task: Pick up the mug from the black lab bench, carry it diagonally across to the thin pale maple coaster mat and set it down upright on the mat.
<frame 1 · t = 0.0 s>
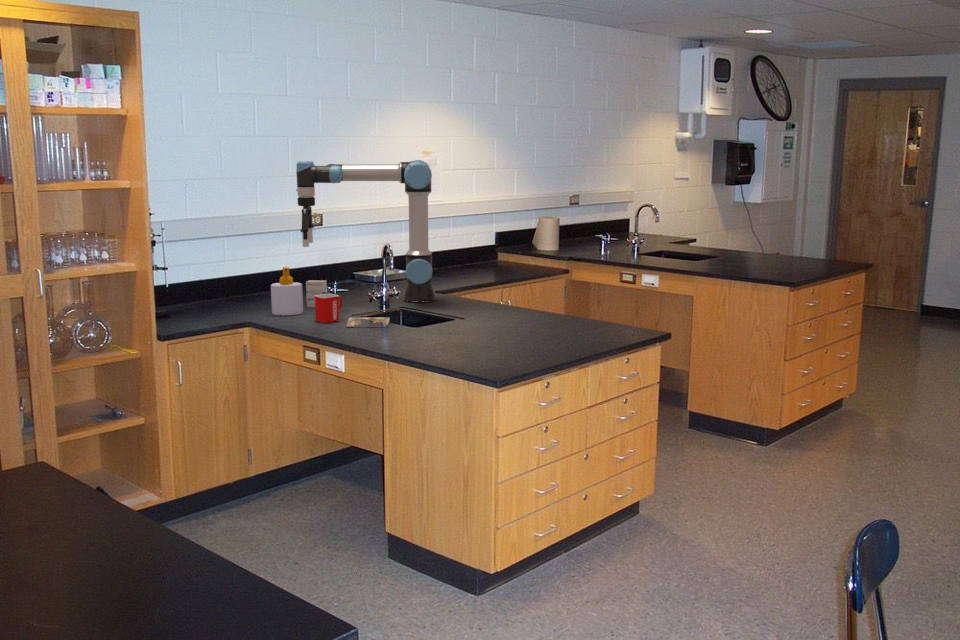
hand: (307, 244, 415), 28 cm above the countertop, fingers open, 13 cm apart
mug: (331, 320, 393), on the countertop
coaster board: (368, 323, 387), on the countertop
soap bottle: (287, 314, 406), on the countertop
ink box: (317, 306, 422), on the countertop
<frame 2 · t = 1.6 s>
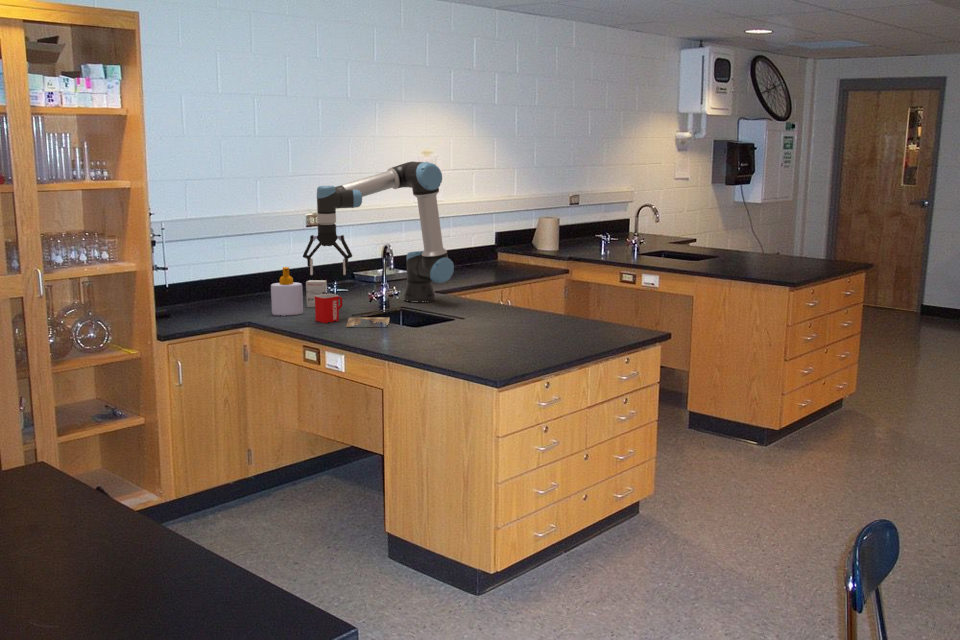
hand: (328, 274, 390), 19 cm above the countertop, fingers open, 13 cm apart
nothing on the countertop moved.
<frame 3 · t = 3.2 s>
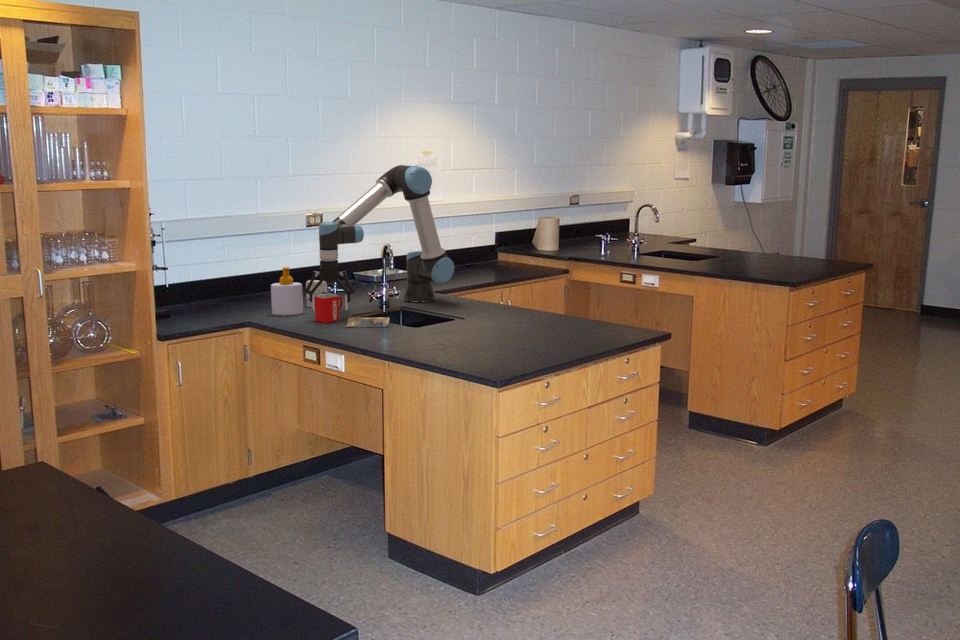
hand: (330, 309, 392), 4 cm above the countertop, fingers open, 13 cm apart
nothing on the countertop moved.
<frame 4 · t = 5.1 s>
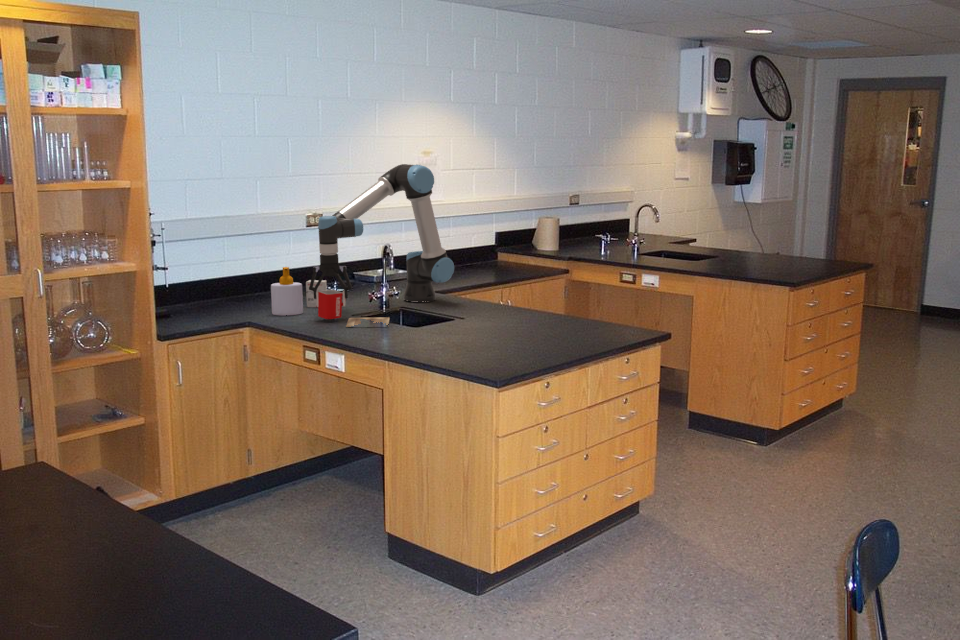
hand: (331, 306, 392), 6 cm above the countertop, fingers closed on mug, 10 cm apart
mug: (333, 316, 393), point 1 cm above the countertop, touching gripper
everything else where it was.
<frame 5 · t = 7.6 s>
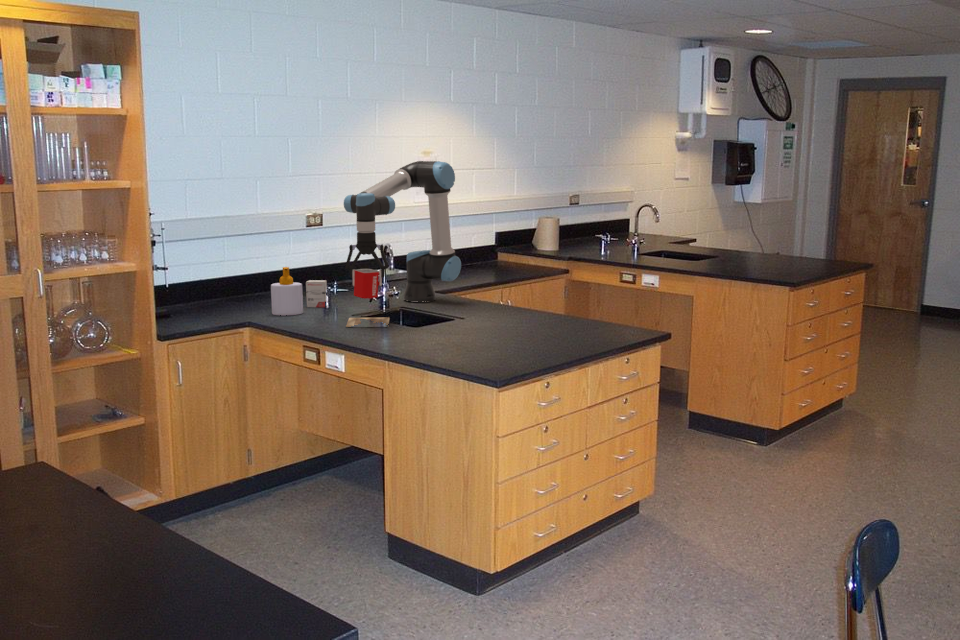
hand: (367, 285, 384), 16 cm above the countertop, fingers closed on mug, 10 cm apart
mug: (369, 296, 385), point 11 cm above the countertop, touching gripper
everything else where it was.
when the fingers open (6 cm above the countertop, at t = 10.2 s): mug stays where it is, resting on coaster board.
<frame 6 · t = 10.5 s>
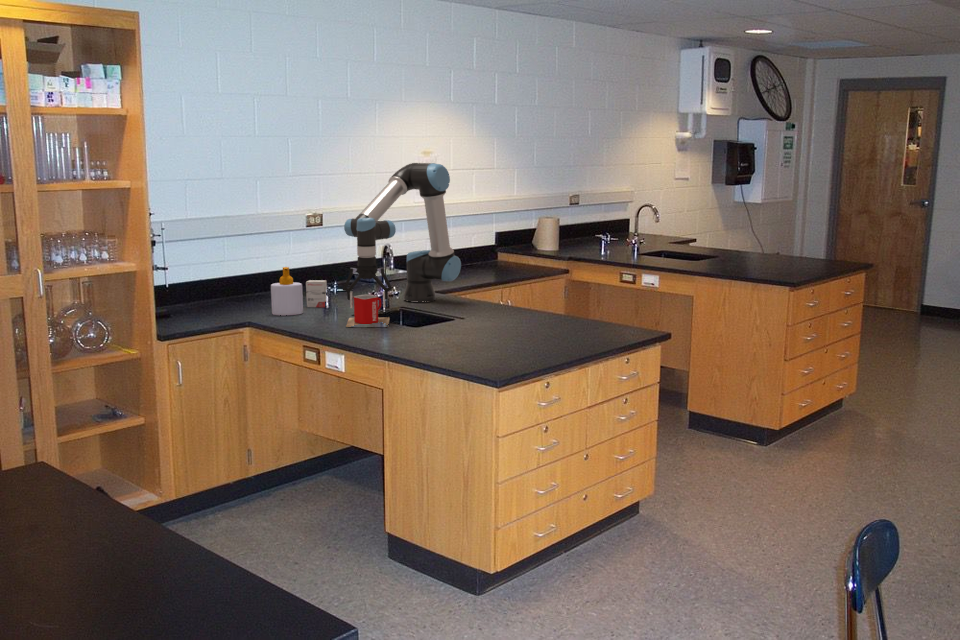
hand: (367, 307, 386), 7 cm above the countertop, fingers open, 13 cm apart
mug: (369, 321, 387), point 1 cm above the countertop, touching coaster board
everything else where it was.
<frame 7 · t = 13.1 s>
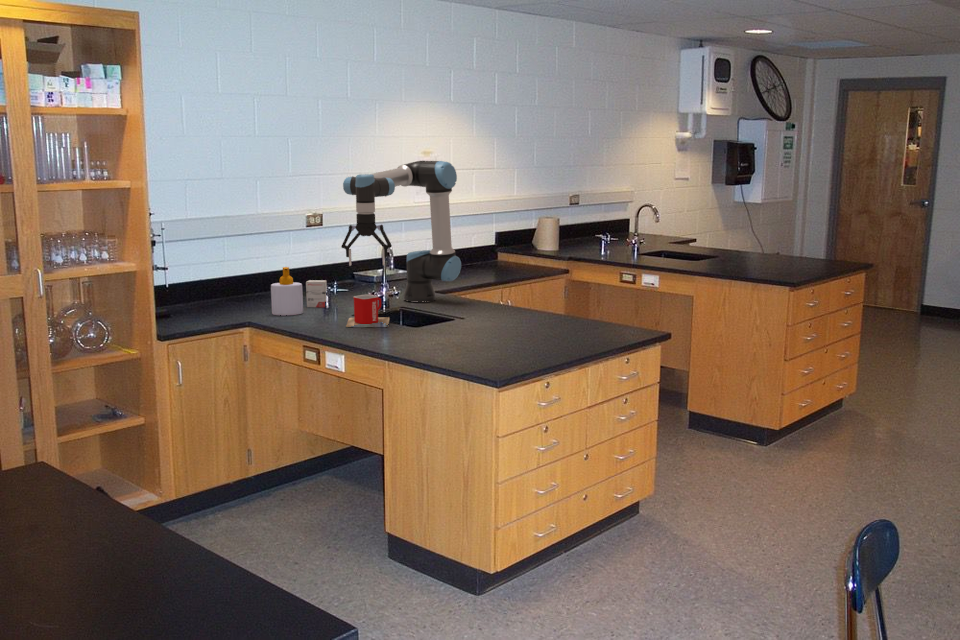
hand: (367, 265, 382), 24 cm above the countertop, fingers open, 13 cm apart
nothing on the countertop moved.
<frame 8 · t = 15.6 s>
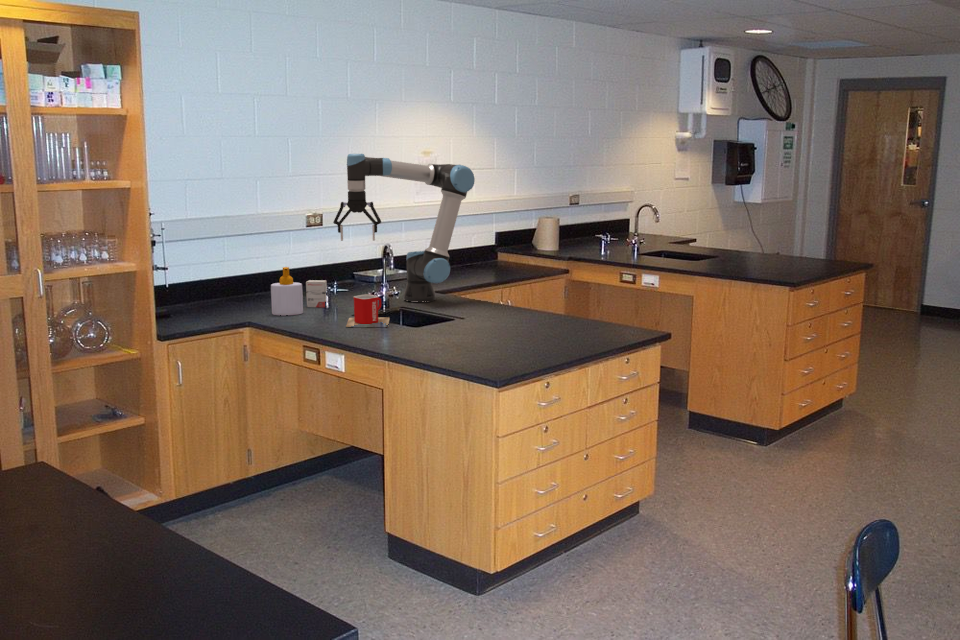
hand: (357, 240, 402), 32 cm above the countertop, fingers open, 13 cm apart
nothing on the countertop moved.
at the end: mug inside the target area on the coaster board (0.7 cm from its centre), point 0.5 cm above the coaster board's base; mug tilted 0°; the gripper is holding nothing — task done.
